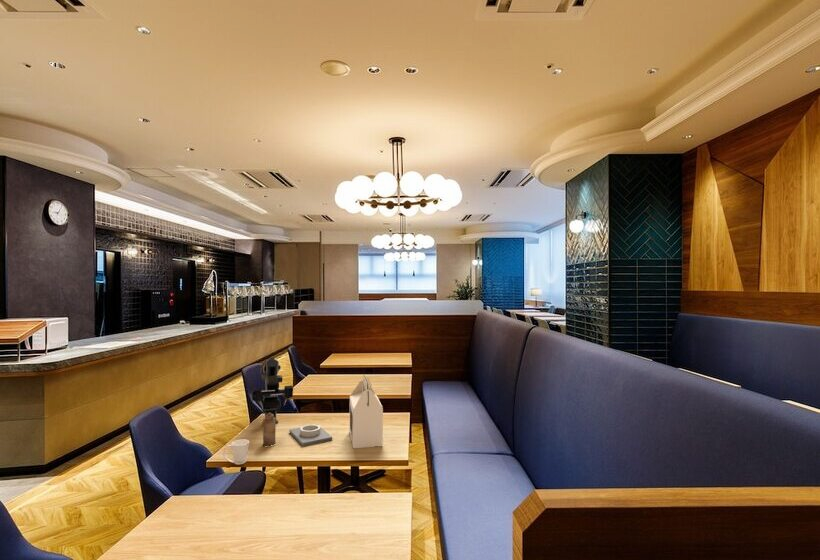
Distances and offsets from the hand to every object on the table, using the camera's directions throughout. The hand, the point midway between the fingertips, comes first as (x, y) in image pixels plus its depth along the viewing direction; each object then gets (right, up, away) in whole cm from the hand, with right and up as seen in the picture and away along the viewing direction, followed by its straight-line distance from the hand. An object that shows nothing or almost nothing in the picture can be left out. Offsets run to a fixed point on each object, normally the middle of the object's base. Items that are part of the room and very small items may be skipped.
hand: (273, 406), depth 195 cm
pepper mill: (0, -15, -8) cm, 17 cm away
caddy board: (+16, -15, +3) cm, 23 cm away
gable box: (+43, -16, 0) cm, 45 cm away
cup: (-7, -15, -26) cm, 31 cm away
